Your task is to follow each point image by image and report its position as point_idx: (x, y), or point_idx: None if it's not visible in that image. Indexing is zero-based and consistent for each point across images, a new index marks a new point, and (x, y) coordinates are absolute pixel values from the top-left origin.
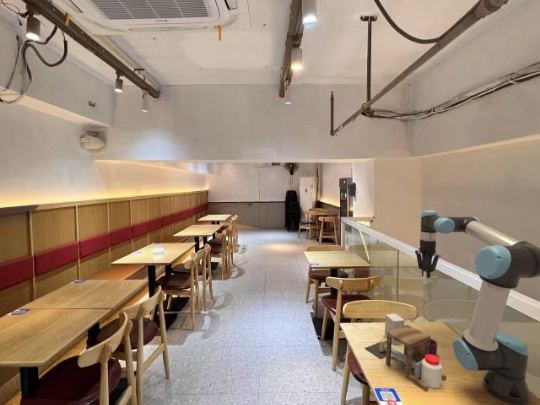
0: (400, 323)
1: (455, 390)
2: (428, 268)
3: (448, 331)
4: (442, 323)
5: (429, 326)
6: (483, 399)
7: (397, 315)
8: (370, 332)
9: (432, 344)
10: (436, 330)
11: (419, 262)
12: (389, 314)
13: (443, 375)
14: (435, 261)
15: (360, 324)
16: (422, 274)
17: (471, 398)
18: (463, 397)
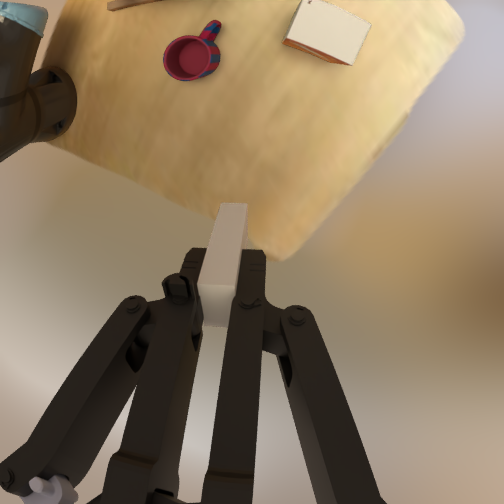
0: (292, 21)
1: (86, 4)
2: (158, 328)
3: None
4: (279, 255)
5: (293, 211)
6: (52, 38)
7: (334, 54)
8: (389, 25)
9: (192, 76)
10: (267, 205)
11: (307, 389)
12: (361, 35)
13: (110, 3)
14: (46, 421)
15: (438, 52)
16: (260, 264)
17: (62, 18)
18: (70, 5)
